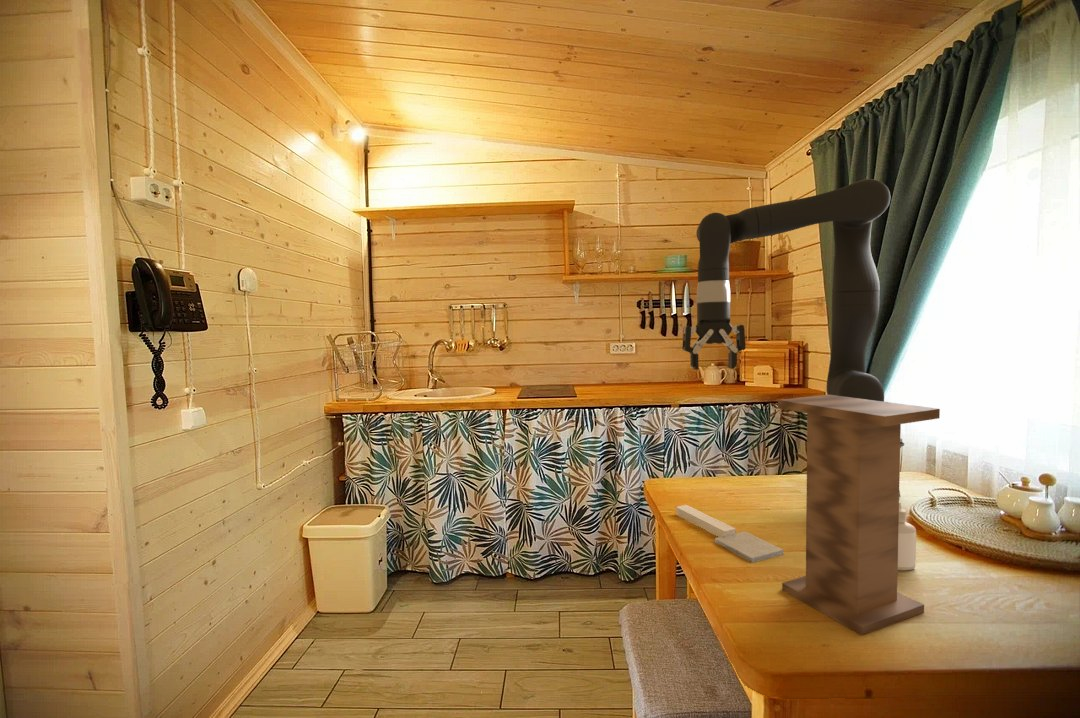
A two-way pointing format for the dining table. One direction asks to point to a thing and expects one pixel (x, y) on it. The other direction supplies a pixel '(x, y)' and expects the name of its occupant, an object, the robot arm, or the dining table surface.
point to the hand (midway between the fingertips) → (713, 369)
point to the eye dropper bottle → (906, 543)
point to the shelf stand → (854, 509)
